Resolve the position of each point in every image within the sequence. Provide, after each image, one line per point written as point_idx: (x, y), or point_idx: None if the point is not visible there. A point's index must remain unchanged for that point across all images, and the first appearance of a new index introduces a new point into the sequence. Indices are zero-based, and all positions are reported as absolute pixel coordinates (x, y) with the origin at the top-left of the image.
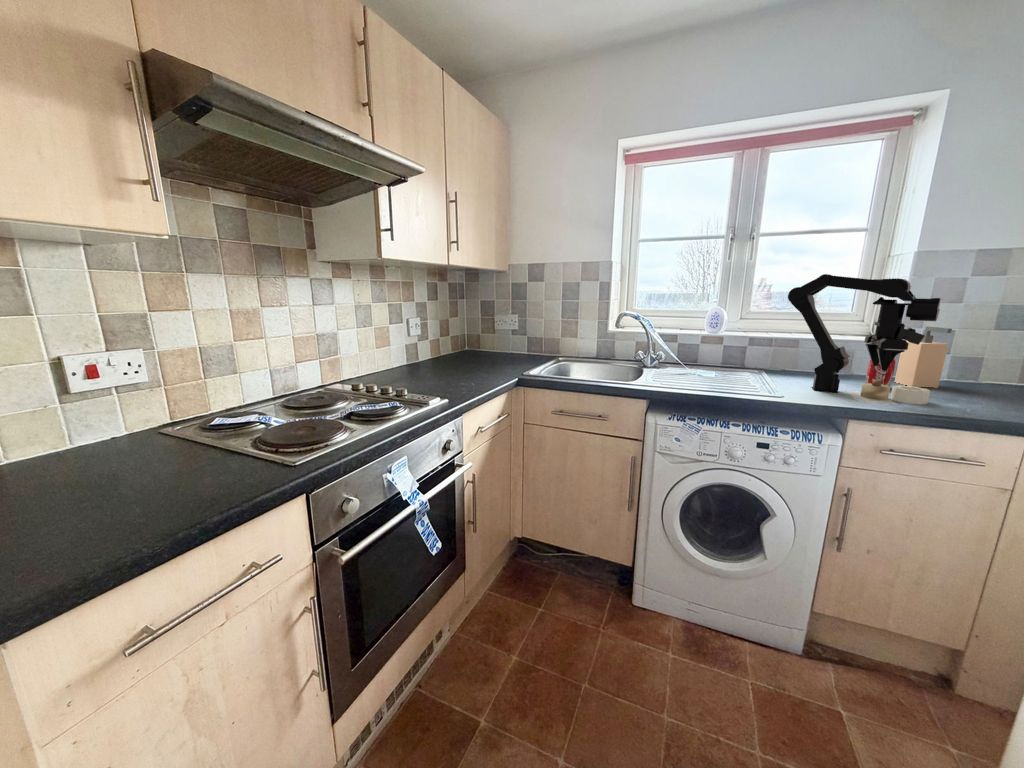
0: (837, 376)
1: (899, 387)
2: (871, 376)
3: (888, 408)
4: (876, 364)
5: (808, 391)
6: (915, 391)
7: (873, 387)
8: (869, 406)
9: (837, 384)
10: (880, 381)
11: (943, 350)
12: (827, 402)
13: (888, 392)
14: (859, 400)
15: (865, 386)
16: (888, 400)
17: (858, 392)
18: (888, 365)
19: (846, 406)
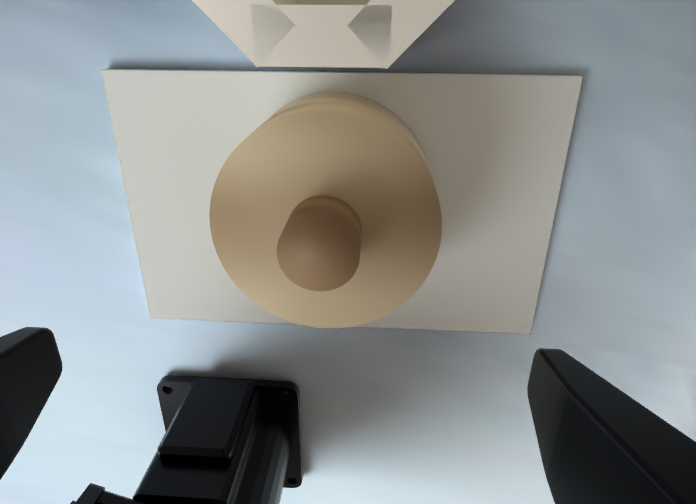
0: (232, 498)
1: (325, 15)
2: None
3: (693, 180)
4: (37, 356)
5: (300, 497)
6: None
7: (424, 274)
8: (655, 288)
9: (242, 427)
10: (348, 235)
11: None
12: None
13: (394, 125)
14: (515, 317)
15: (373, 315)
16: (419, 107)
17: (182, 249)
18: (637, 418)
19: (693, 411)
